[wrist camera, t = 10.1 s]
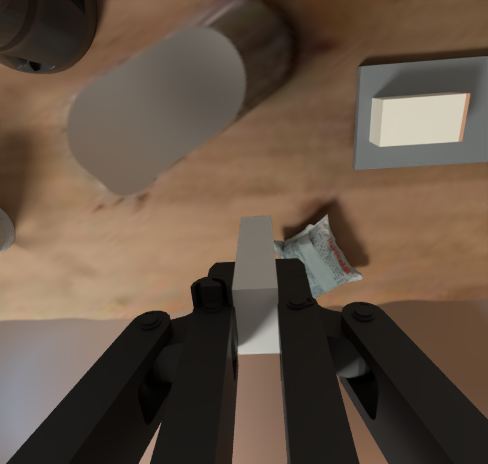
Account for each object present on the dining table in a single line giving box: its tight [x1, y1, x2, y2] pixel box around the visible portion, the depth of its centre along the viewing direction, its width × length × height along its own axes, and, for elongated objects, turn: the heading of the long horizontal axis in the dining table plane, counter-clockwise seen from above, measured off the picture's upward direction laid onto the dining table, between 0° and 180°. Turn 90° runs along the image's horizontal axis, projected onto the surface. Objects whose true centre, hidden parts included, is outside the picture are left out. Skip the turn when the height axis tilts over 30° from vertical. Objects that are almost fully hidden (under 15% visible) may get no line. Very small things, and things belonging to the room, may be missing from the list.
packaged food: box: [274, 214, 362, 298], centre depth 49 cm, size 9×12×5 cm
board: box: [353, 56, 488, 170], centre depth 42 cm, size 18×12×1 cm, turn 94°
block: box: [369, 92, 471, 147], centre depth 40 cm, size 4×5×9 cm
